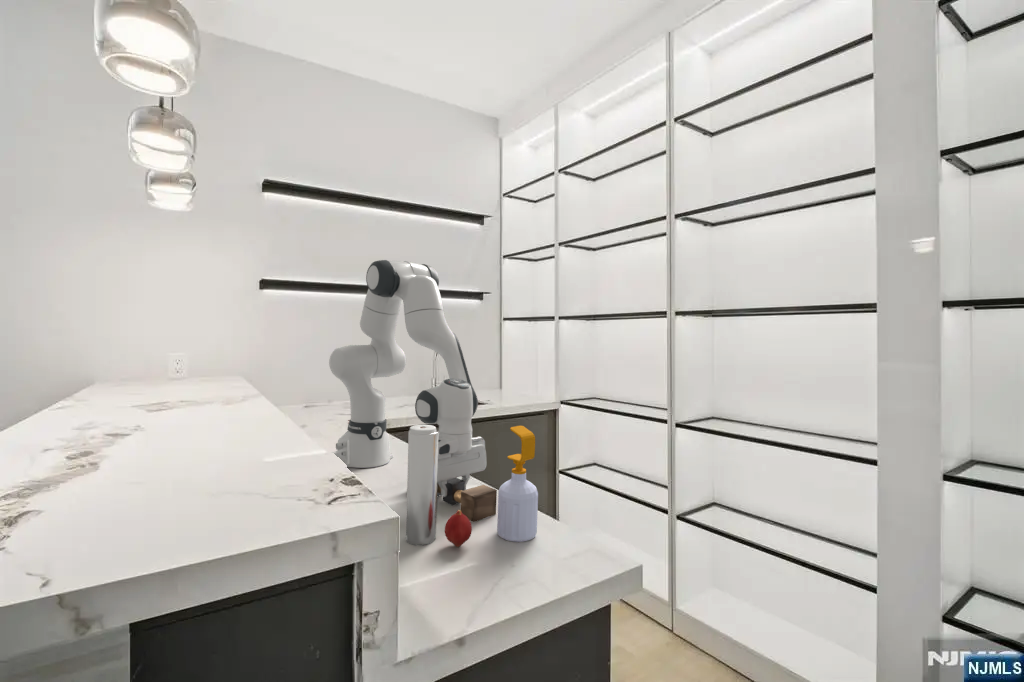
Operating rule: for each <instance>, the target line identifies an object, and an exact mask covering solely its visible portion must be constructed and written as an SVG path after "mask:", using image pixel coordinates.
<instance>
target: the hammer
mask: <svg viewBox="0 0 1024 682" xmlns="http://www.w3.org/2000/svg"><path fill="white" fill-rule="evenodd" d="M461 479H462V478H459V477H457V478H453V479H449V480H447V484H445V486H446V488H448V489H450V492H449V493H450V495H449V496H446V497H444V496H442V502H444V503H446V504H448V505H450V506H454V505H458V504H461V491H464V488H465V481H463V480H461ZM437 493H440V494H441V488H440V486H439V484H438V483H437Z"/></svg>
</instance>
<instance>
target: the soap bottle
mask: <svg viewBox="0 0 1024 682" xmlns="http://www.w3.org/2000/svg"><path fill="white" fill-rule="evenodd" d="M509 430H510V431H511V432H512V433H514V434H515V435H517V437H519V439H520V442H521V449H520V450H521V451H520V453H516V454H511V455H508V456H507V459H508V460H511V461H513V464H515V467H514V468H511V478H510V479H507V481H505V482H504V483H502V484H501V485H500V487H499V489H498V491H497V493H498V497H497V525H496V526H497V528H496V531H497V532H496V533H497V535H498V536H499V537H500V538H502V539H504V540H506V541H509V542H514V543H515V542H518V543H521V542H527V541H530V540H532V539H534V538H535V537H536V535H537V532H538V531H537V530H538V510H539V509H538V507H539V506H538V505H539V491H538V489H537V487H536V485H534V483H532V482H531V481H529V480H527V469H526V468H524V465H525V464H526V461H530V460H533V459H534V458H535V453H536V436H535V434H534V433H533V431H531V430H530V429H528V428H527V427H525V426H524V425H516V426H511V427H510V428H509Z"/></svg>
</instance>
